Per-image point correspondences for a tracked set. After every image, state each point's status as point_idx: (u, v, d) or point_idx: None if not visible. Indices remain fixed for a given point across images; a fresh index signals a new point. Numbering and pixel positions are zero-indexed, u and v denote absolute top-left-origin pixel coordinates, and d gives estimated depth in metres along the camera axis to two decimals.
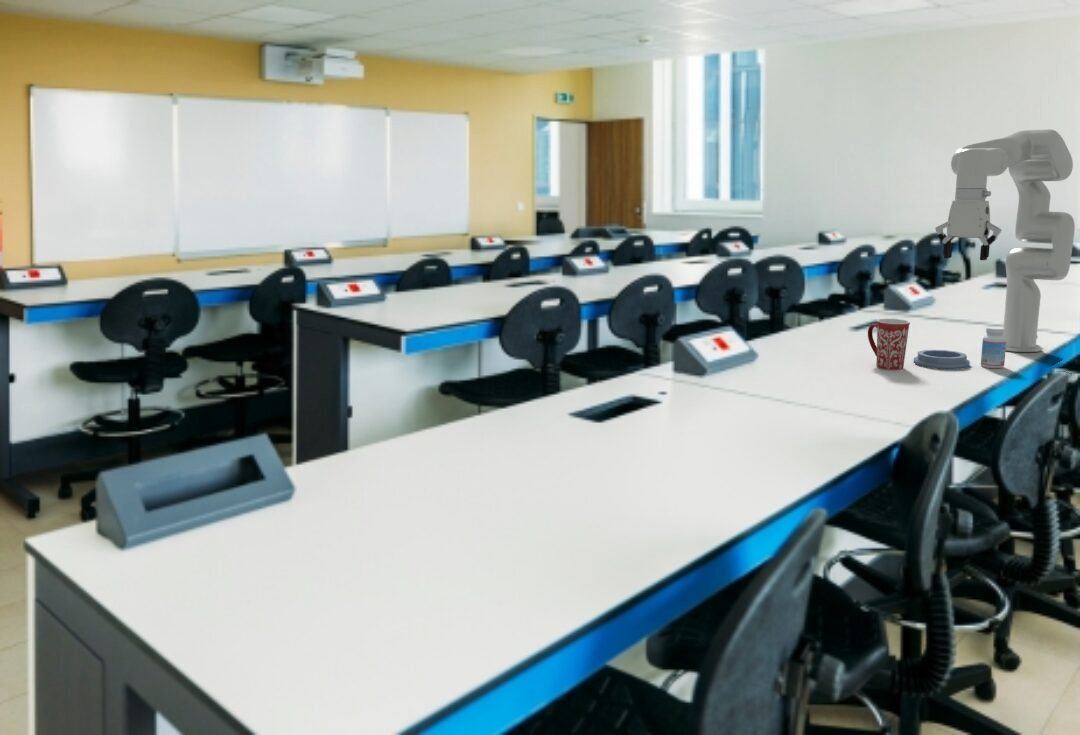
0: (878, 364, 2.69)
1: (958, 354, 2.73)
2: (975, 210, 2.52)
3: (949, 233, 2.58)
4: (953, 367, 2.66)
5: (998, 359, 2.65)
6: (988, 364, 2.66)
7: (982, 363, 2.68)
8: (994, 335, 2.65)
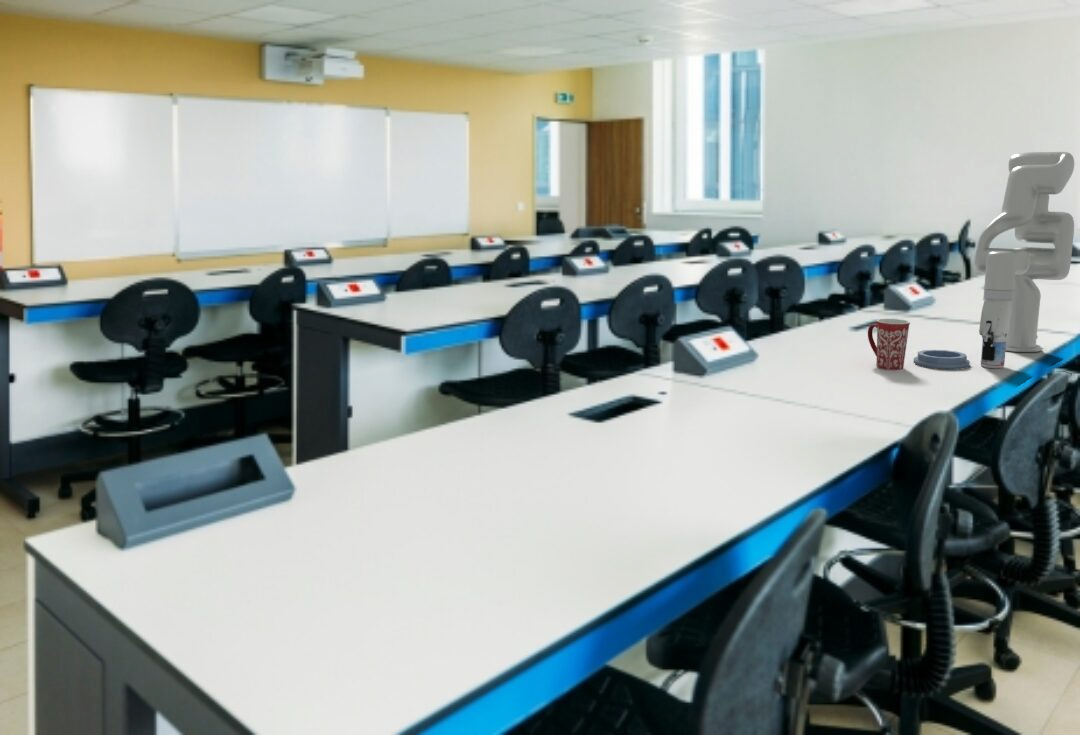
0: (878, 364, 2.69)
1: (958, 354, 2.73)
2: (1009, 308, 2.66)
3: (996, 333, 2.63)
4: (953, 367, 2.66)
5: (998, 359, 2.65)
6: (988, 364, 2.66)
7: (982, 363, 2.68)
8: None
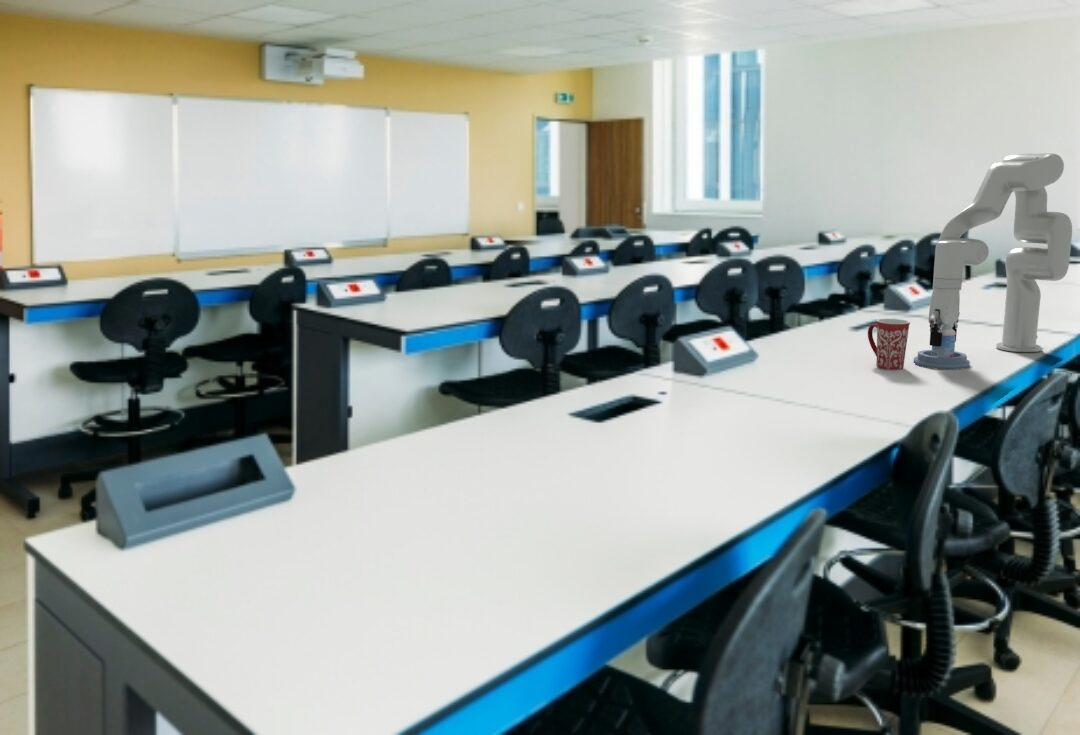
0: (878, 364, 2.69)
1: (958, 354, 2.73)
2: (958, 297, 2.70)
3: (945, 322, 2.67)
4: (953, 367, 2.66)
5: (947, 352, 2.70)
6: None
7: None
8: (943, 328, 2.70)
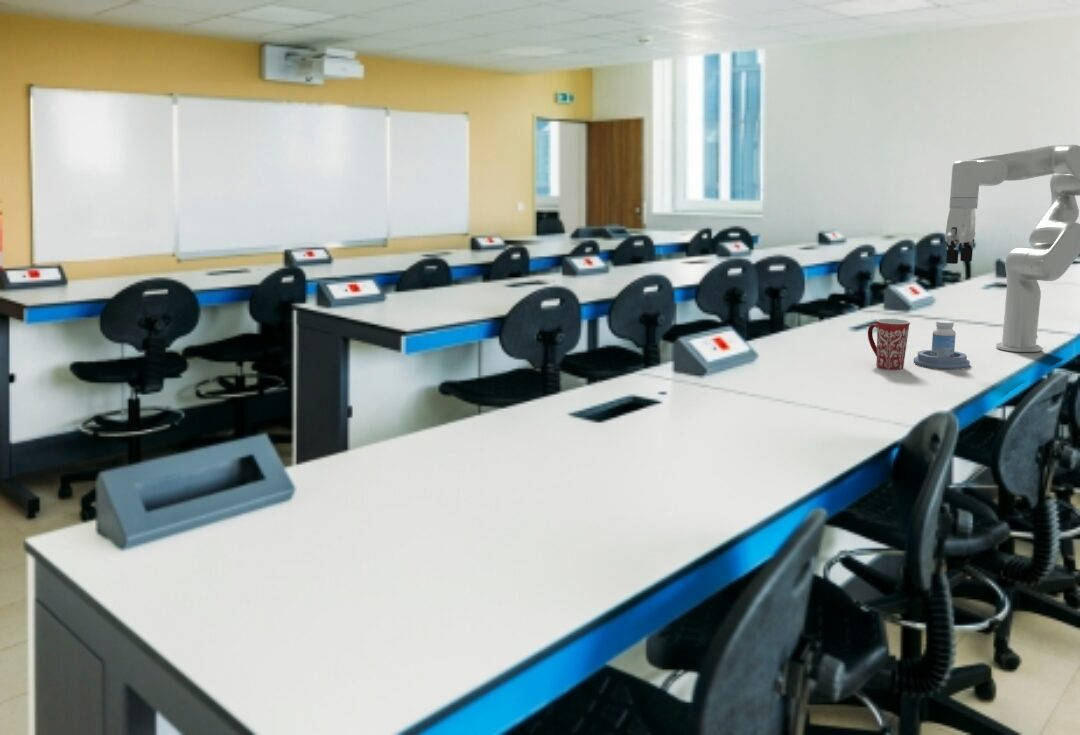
0: (878, 364, 2.69)
1: (958, 354, 2.73)
2: (974, 216, 2.77)
3: (961, 239, 2.74)
4: (953, 367, 2.66)
5: (947, 352, 2.70)
6: None
7: None
8: (943, 328, 2.70)
